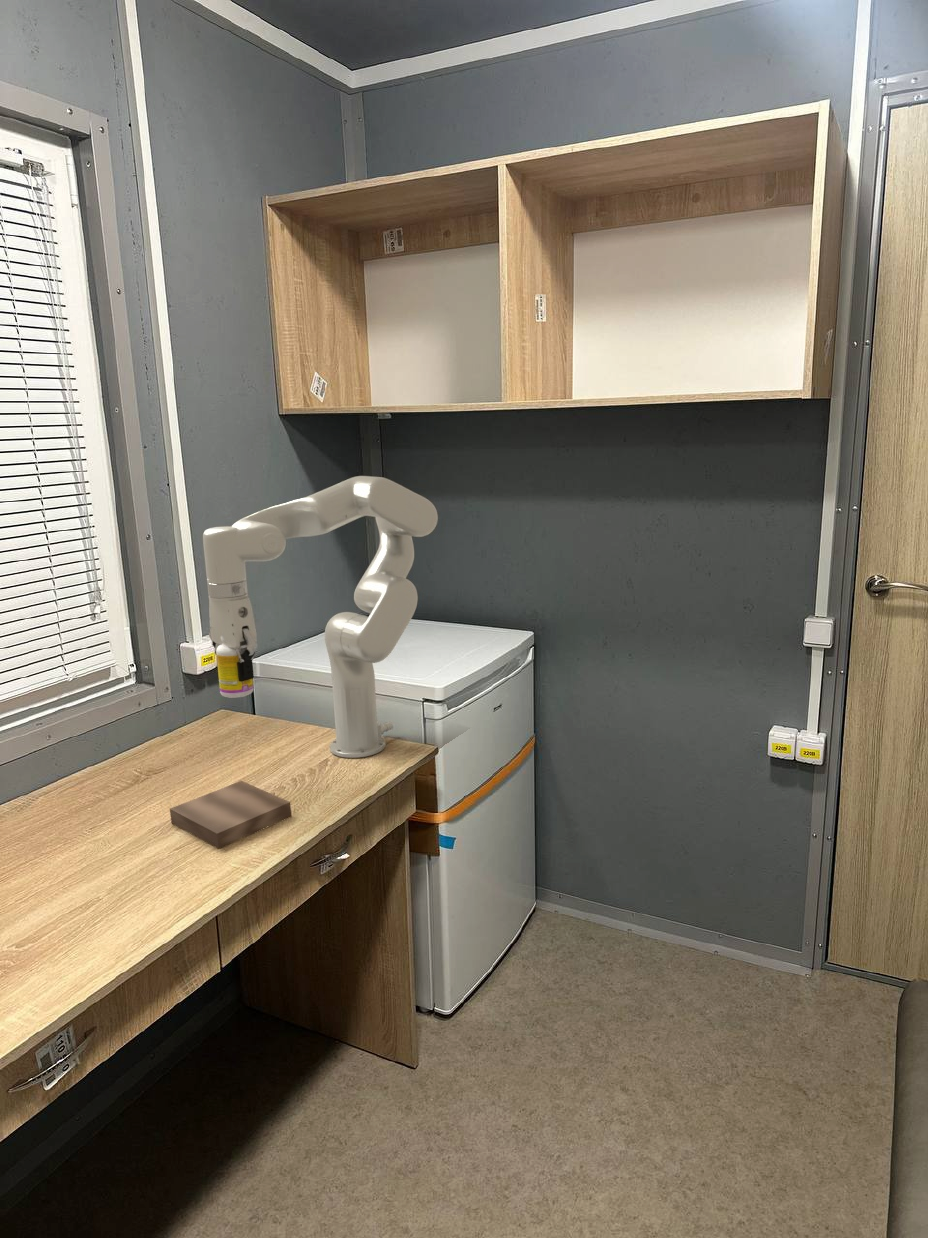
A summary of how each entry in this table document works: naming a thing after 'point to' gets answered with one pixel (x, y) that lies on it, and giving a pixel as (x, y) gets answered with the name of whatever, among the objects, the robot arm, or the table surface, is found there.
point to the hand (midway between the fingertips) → (235, 675)
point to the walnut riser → (230, 813)
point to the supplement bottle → (231, 673)
